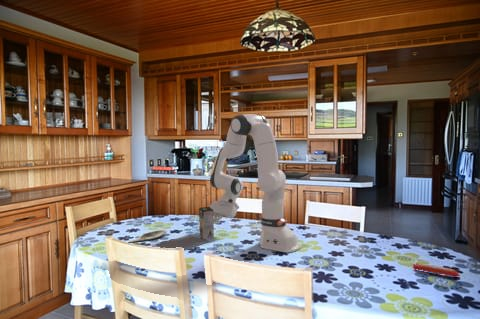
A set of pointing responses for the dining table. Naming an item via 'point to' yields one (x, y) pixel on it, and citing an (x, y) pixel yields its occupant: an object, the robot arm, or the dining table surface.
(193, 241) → the rubber mat
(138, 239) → the spoon
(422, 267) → the sausage
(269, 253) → the dining table surface
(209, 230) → the coffee box
